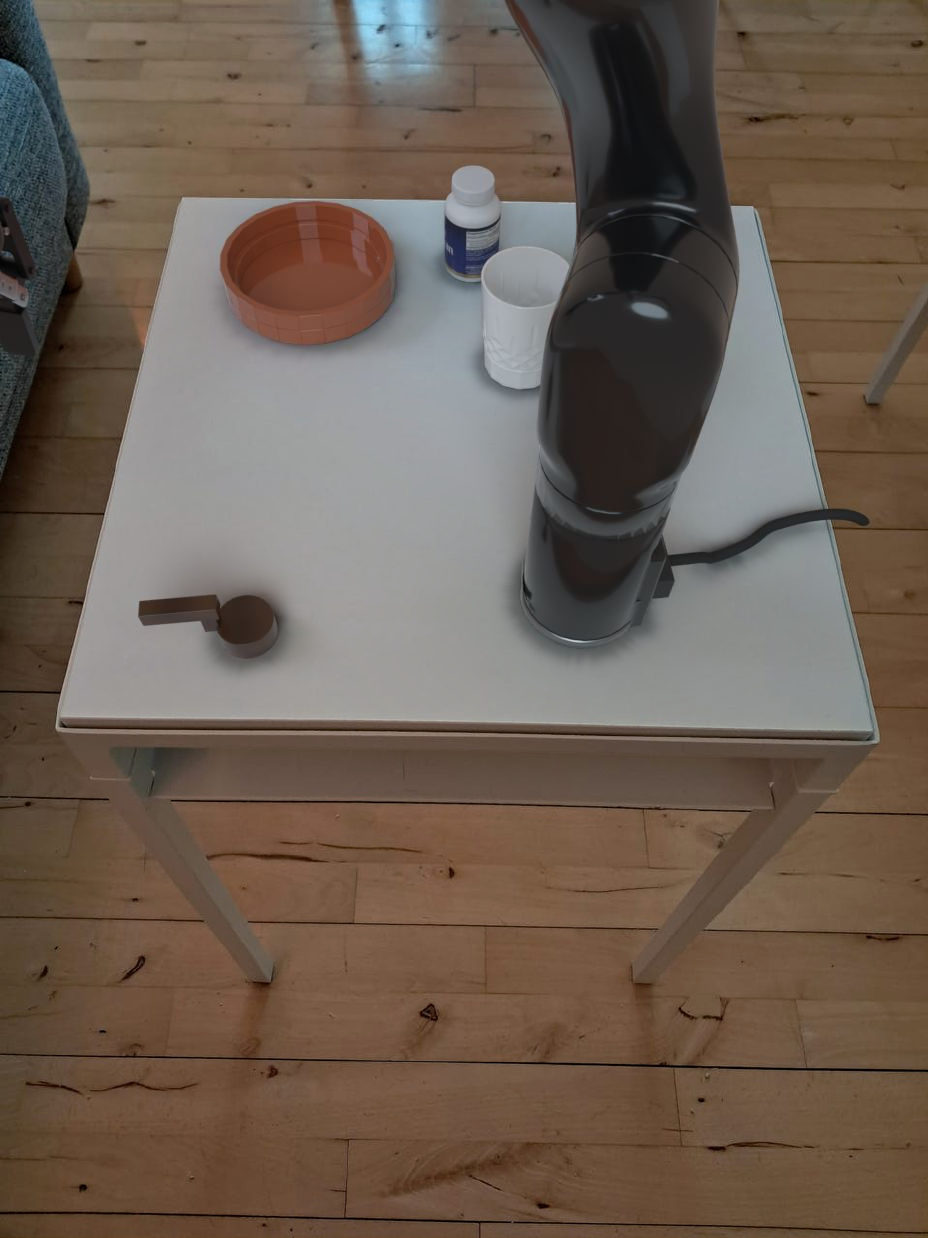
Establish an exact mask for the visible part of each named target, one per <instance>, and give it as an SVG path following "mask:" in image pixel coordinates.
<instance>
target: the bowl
mask: <svg viewBox="0 0 928 1238" xmlns="http://www.w3.org/2000/svg"><path fill="white" fill-rule="evenodd" d="M395 262H396V261H395V252H394V243H393V242H392V240H391V237H389V234H388V233H387V230H386V229H385V228H384V227H383V226H382V225H381V224H380V223H379V222H378V221H377V220H376V219H375V218H373V217H372V216H370V215H369V214H366V213H365V212H363V211H361V210H360V209H358V208H355V207H352V206H349V205H345V204H342V203H339V202H328V201H320V200H307V201H292V202H288V203H284V204H280V205H275V206H272V207H270V208H267V209H264V210H262V211H260V212H257V213H255V214H254V215H252V216H251V217H249V218H247V219H246V220H245V221H243V222H242V223H240V224H239V225H237V227H236V228H235V229H233V231H232V232H231V233H230V234H229V236H228V237H227V238H226V240H225V243H224V245H223V247H222V249H221V251H220V255H219V271H220V276H221V280H222V283H223V288H224V292H225V296H226V298H227V301H228V305H229V307H230V309H231V312H232V313H233V314H234V315H235V317H236V318H237V319H238V320H239V322H240V323H242V325H244V326H245V327H247V328H248V329H250V330H251V331H252V332H254V333H256V334H257V335H259V336H261V337H265V338H268V339H270V340H273V341H276V342H279V343H284V344H293V345H301V346H306V345H321V344H328V343H332V342H337V341H339V340H343V339H347V338H350V337H352V336H354V335H356V334H358V333H360V332H362V331H363V330H367V329H368V328H369V327H370V326H371V325H372V324H374V323H375V322H376V321H377V320H378V319H380V318H381V317H382V316H383V315H384V314H385V312H386V310H387V309H388V308H389V306H390V305H391V304H392V302H393V298H394V295H395V291H396V288H397V282H396V266H395V265H396V264H395Z"/></svg>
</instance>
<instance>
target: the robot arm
mask: <svg viewBox="0 0 928 1238" xmlns="http://www.w3.org/2000/svg"><path fill="white" fill-rule="evenodd" d="M503 2H504V4H505V6H506V9H507V11H508V14H509V15H510V16H511V18H512V20H513V22H514V24H515V25H516V28H517V29H518V32H519V33H520V35H521V36H522V39H523V40H524V41H525V43H526V44H527V46H528V48H529V50H530V52H531V53H532V55H533V56H534V58H535V60H536V62H537V63H538V64H539V66H540V68H541V69H542V72H543V73H544V75H545V77H546V79H547V80H548V82H549V84H550V86H551V88H552V90H553V93H554V95H555V97H556V100H557V102H558V105H559V107H560V111H561V116H562V118H563V122H564V125H565V132H566V136H567V141H568V147H569V148H568V149H569V155H570V162H571V171H572V179H573V190H574V202H575V223H576V224H575V227H576V228H575V240H574V241H575V242H574V247H573V251H572V257H571V260H570V263H569V265H570V266H569V269H568V272H567V275H566V278H565V281H564V283H563V286H562V289H561V292H560V295H559V297H558V300H557V303H556V306H555V308H554V311H553V314H552V317H551V320H550V323H549V327H548V331H547V336H546V341H545V347H544V354H543V362H542V371H541V381H540V385H539V393H538V405H537V417H536V437H537V438H536V439H537V442H538V444H539V450H538V451H539V452H538V457H537V466H536V474H535V482H534V490H533V498H532V505H531V512H530V513H531V514H530V521H529V529H528V536H527V544H526V552H525V559H524V556H522V558H521V580H520V581H521V582H520V589H519V590H520V591H519V599H520V605H521V609H522V612H523V613H524V615H525V618H526V619H527V621H528V622H529V623H530V625H531V626H532V627H533V628H534V629H535V630H536V631H537V632H538V634H541V635H542V636H543V637H544V638H545V639H548V640H549V641H551V642H554V643H556V644H557V645H558V644H559V645H561V646H564V647H569V648H573V649H574V648H575V649H593V648H598V647H602V646H605V645H609V644H610V643H612V642H614V641H616V640H617V639H619V638H620V637H622V636H623V635H624V634H625V633H626V632H627V631H628V630H629V629H630V628H631V627H638V626H642V625H643V624H644V622H645V620H646V616H647V615H648V611H649V608H650V605H651V602H652V600H654V599H655V600H656V599H666V598H669V597H670V595H671V592H672V589H673V587H674V585H675V582H676V581H675V576H674V573H673V569H672V567H678V566H687V565H696V564H697V565H699V564H706V565H711V564H716V563H719V562H722V561H725V560H728V559H730V558H732V557H736V556H737V555H739V554H742V553H743V552H746V551H748V550H749V549H751V548H753V547H754V546H756V545H757V544H759V543H760V542H761V541H763V540H764V539H765V538H766V537H768V536H769V535H770V534H772V533H775V532H777V531H779V530H783V529H786V528H790V527H795V526H797V525H802V524H806V523H812V522H819V521H832V520H833V521H835V520H837V521H847V522H852V523H855V524H857V525H858V526H859V527H866V526H869V525H870V523H871V522H870V519H869V518H868V516H866V515H865V514H863V513H861V512H859V511H856V510H854V509H853V510H852V509H846V508H819V509H812V510H807V511H802V512H797V513H792V514H789V515H785V516H781V517H779V518H778V517H777V518H775V519H773V520H769V521H768V522H765V523H764V524H763V525H762V526H760V527H759V528H757V529H756V530H755V531H754V532H753V533H752V534H750V535H748V536H747V537H745V538H743V539H741V540H739V541H737V542H735V543H733V544H731V545H728V546H726V547H723V548H721V549H717V550H713V551H710V552H708V551H694V552H693V551H692V552H684V553H683V552H682V553H674V554H668V550H667V546H666V542H665V539H664V535H663V532H664V530H665V526H666V523H667V520H668V517H669V514H670V512H671V509H672V508H671V507H672V505H673V502H674V499H675V496H676V494H677V490H678V488H679V485H680V481H681V478H682V475H683V474H684V472H685V471H686V470H687V468H688V466H689V465H690V462H691V461H692V457H693V454H694V452H695V449H696V446H697V444H698V441H699V438H700V435H701V433H702V430H703V428H704V424H705V423H706V422H705V421H706V419H707V416H708V413H709V411H710V407H711V405H712V403H713V399H714V396H715V394H716V390H717V388H718V383H719V380H720V376H721V374H722V370H723V367H724V366H723V365H724V362H725V357H726V351H727V347H728V341H729V338H730V333H731V328H732V324H733V323H732V322H733V318H734V313H735V309H736V303H737V298H738V292H739V283H740V256H739V255H740V254H739V246H738V240H737V234H736V228H735V223H734V217H733V210H732V205H731V199H730V193H729V187H728V182H727V174H726V167H725V161H724V153H723V147H722V141H721V134H720V127H719V126H720V125H719V118H718V108H717V93H716V60H717V46H718V28H719V11H720V0H503ZM3 252H6V253H9V254H11V255H12V257H10V256H9V257H8V256H4V255H3ZM36 267H37V266H36V264H35V260H34V258H33V256H32V253H31V251H30V247H29V245H28V243H27V240H26V238H25V234H24V231H23V230H22V228H21V225H20V222H19V219H18V217H17V214H16V212H15V209H14V206H13V204H12V201H11V199H10V198H9V197H5V196H0V345H1V347H2V349H3V350H4V351H5V352H6V353H9V354H12V355H18V356H23V357H30V358H33V357H35V356H36V355H37V353H38V351H39V348H40V344H39V341H38V339H37V336H36V333H35V329H34V325H33V323H32V321H31V319H30V318H31V317H30V315H29V313H28V309H27V306H28V303H29V291H28V289H27V288H26V287H25V285H26V281H34V279H35V277H36V274H37V273H36V272H37V268H36ZM524 560H525V561H524ZM523 561H524V562H523ZM523 563H524V564H523ZM523 566H524V567H523ZM523 568H524V569H523Z"/></svg>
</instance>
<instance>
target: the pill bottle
mask: <svg viewBox="0 0 928 1238" xmlns="http://www.w3.org/2000/svg"><path fill="white" fill-rule="evenodd" d="M495 191H496V179H495V176H494V174H493V172H492V171H491V170H490V169H488V168H486V167H484V166H480V165H466V166H465V165H464V166H462V167H459V168H458V169H457V170H455V171H454V172H453V174H452V176H451V192H450V193H449V194H448V195H447V197H446V198H445V202H444V206H443V207H444V210H443V215H444V217H443V219H444V221H443V223H444V227H443V230H444V231H443V232H444V233H443V234H444V235H443V236H444V266H445V269H446V271H447V273H449V275H450V276H451V277H453V278H454V279H455V280H458V281H461V282H464V283H465V282H466V283H479V282H481V273H482V269H483V266H484V265H485V263H486V262H487V260H488V259H489V258H490V257H492V256H493V255H494V254H496V253H498V252H500V238H501V237H500V233H501V217H502V204H501V200H500V198H499V197H498V195H497V194H496V193H495Z"/></svg>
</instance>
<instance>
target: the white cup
mask: <svg viewBox="0 0 928 1238" xmlns="http://www.w3.org/2000/svg"><path fill="white" fill-rule="evenodd" d="M569 266H570V263H569V262H568V261H567V260H566V259H565V258H563V256H561V255H559V254H558V253H556V252H555V251H552V250H550V249H547V248H544V247H540V246H534V245H517V246H511V247H508V248H505V249H502V250H499V252H498V253H496V254H494V255H493V256H492V257H490V258H489V259H488V260H487V262H486V263H485V265H484V266H483V269H482V273H481V281H480V284H481V322H482V323H481V324H482V325H481V326H482V327H481V328H482V340H483V347H484V350H483V351H484V367H485V369H486V371H487V373H488V375H489V376H490V378H491V379H492V380H494V381H495V382H497V383H498V384H500V385H501V386H503V387H506V388H511V389H516V390H527V389H535V388H537V387H540V381H541V371H542V362H543V354H544V347H545V341H546V336H547V331H548V327H549V323H550V320H551V317H552V314H553V311H554V308H555V306H556V303H557V300H558V297H559V295H560V292H561V289H562V286H563V283H564V281H565V278H566V275H567V272H568V269H569Z"/></svg>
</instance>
